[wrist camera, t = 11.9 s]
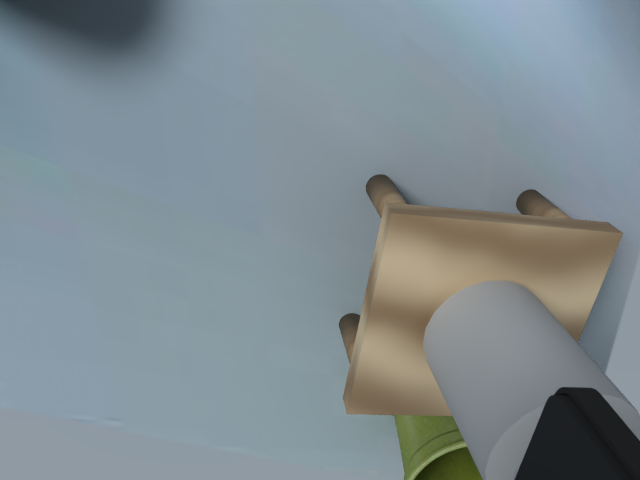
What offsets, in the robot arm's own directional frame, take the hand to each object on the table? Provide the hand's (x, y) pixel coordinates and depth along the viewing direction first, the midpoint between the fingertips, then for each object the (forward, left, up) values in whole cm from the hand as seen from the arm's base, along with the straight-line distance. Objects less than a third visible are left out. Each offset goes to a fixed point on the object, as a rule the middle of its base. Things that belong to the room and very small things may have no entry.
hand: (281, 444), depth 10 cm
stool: (+11, +15, -28) cm, 34 cm away
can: (+11, +15, -20) cm, 28 cm away
